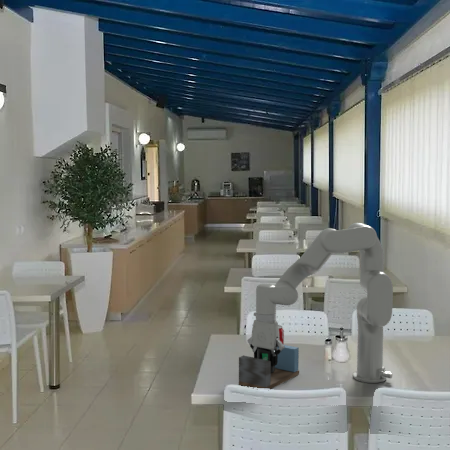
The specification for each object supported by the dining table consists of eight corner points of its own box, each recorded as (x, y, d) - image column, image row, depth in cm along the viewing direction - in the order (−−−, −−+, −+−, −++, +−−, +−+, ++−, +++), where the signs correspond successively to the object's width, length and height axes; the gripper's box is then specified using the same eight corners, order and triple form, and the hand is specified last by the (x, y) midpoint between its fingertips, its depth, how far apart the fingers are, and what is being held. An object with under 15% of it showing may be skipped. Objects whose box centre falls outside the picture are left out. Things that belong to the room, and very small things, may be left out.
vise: (299, 374, 261) (299, 347, 260) (266, 391, 241) (266, 363, 240) (273, 368, 268) (273, 342, 267) (238, 384, 248) (238, 357, 247)
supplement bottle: (267, 375, 247) (267, 343, 246) (253, 371, 252) (253, 340, 251) (278, 371, 252) (278, 340, 251) (264, 367, 257) (264, 336, 256)
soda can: (282, 356, 284) (282, 329, 283) (266, 355, 285) (266, 328, 284) (284, 352, 291) (284, 325, 290) (268, 351, 292) (268, 324, 291)
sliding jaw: (298, 370, 260) (298, 347, 259) (294, 372, 258) (294, 349, 257) (272, 364, 267) (272, 342, 266) (268, 366, 265) (268, 344, 264)
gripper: (241, 316, 252) (240, 362, 254) (280, 322, 242) (280, 370, 243) (252, 312, 258) (251, 357, 260) (291, 318, 248) (290, 365, 249)
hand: (265, 363), depth 251 cm, fingers closed on supplement bottle, 6 cm apart
